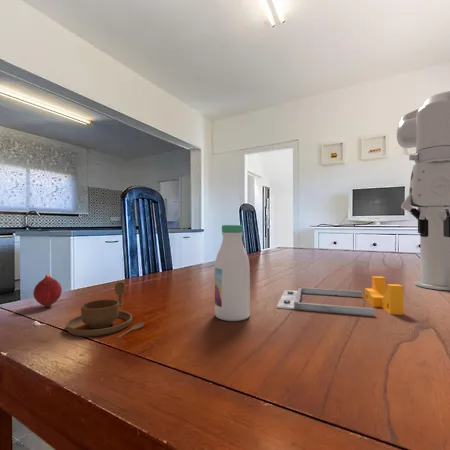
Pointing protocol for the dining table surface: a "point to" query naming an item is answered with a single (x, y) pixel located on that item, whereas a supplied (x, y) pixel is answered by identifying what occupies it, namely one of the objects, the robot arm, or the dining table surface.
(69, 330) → the place setting
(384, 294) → the pipe clamp
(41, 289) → the onion
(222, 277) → the milk bottle
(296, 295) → the hinge bracket
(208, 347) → the dining table surface
